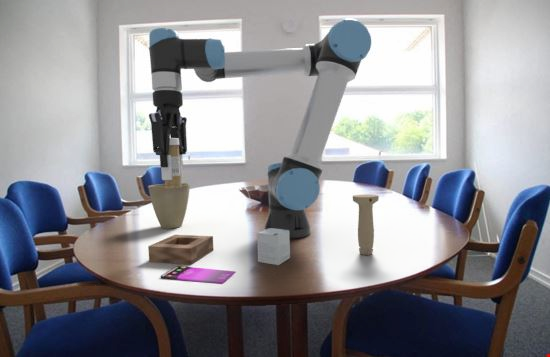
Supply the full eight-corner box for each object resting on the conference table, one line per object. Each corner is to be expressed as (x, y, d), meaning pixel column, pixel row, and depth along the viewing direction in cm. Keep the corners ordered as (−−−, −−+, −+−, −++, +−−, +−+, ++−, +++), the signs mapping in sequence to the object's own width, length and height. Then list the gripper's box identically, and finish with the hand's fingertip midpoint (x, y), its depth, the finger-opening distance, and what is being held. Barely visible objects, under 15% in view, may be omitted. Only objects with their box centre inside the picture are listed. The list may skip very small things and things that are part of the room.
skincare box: (270, 255, 86) (269, 227, 86) (290, 258, 83) (290, 229, 83) (257, 262, 81) (256, 232, 81) (278, 265, 78) (277, 235, 78)
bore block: (213, 250, 92) (212, 236, 92) (191, 264, 81) (190, 248, 80) (175, 248, 95) (174, 234, 95) (149, 261, 84) (148, 246, 84)
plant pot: (200, 224, 127) (198, 183, 126) (169, 232, 115) (166, 187, 114) (173, 221, 135) (171, 182, 134) (142, 228, 123) (139, 186, 122)
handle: (382, 255, 83) (382, 196, 82) (359, 257, 82) (358, 197, 81) (372, 249, 88) (371, 194, 87) (350, 252, 87) (349, 195, 85)
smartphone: (178, 268, 79) (178, 265, 79) (236, 273, 75) (236, 269, 75) (159, 280, 72) (159, 276, 72) (222, 285, 68) (222, 281, 68)
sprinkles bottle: (181, 186, 93) (178, 138, 92) (182, 188, 88) (179, 137, 87) (164, 187, 91) (161, 138, 90) (164, 189, 87) (160, 137, 86)
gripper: (174, 97, 97) (179, 176, 99) (132, 87, 81) (139, 182, 83) (197, 95, 95) (201, 176, 97) (158, 83, 78) (164, 181, 80)
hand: (172, 178), depth 90 cm, fingers closed on sprinkles bottle, 4 cm apart
